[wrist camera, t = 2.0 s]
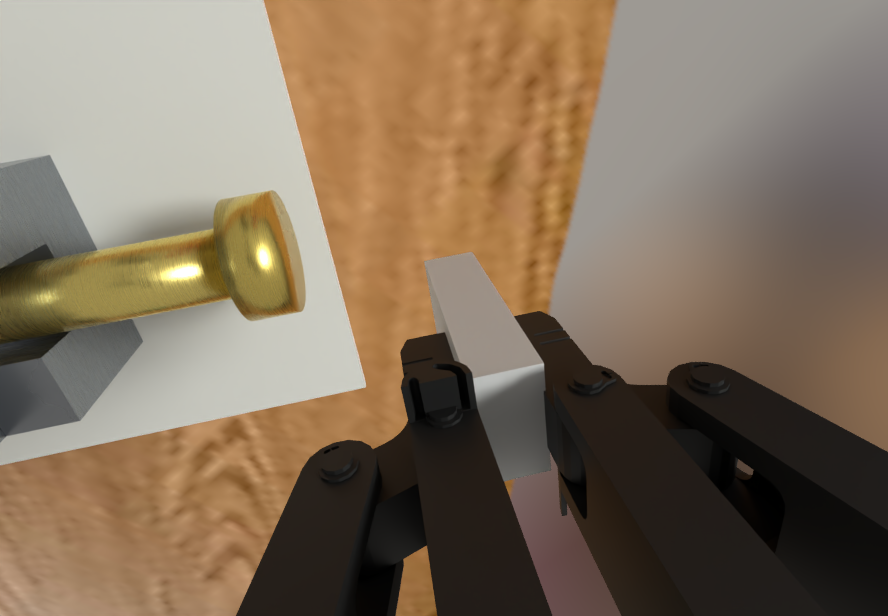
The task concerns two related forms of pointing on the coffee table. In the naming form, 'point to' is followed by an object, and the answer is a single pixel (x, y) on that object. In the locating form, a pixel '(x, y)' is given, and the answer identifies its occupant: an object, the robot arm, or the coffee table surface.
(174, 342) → the mat
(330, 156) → the coffee table surface
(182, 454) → the coffee table surface
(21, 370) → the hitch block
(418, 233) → the coffee table surface
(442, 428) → the robot arm
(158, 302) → the pin
